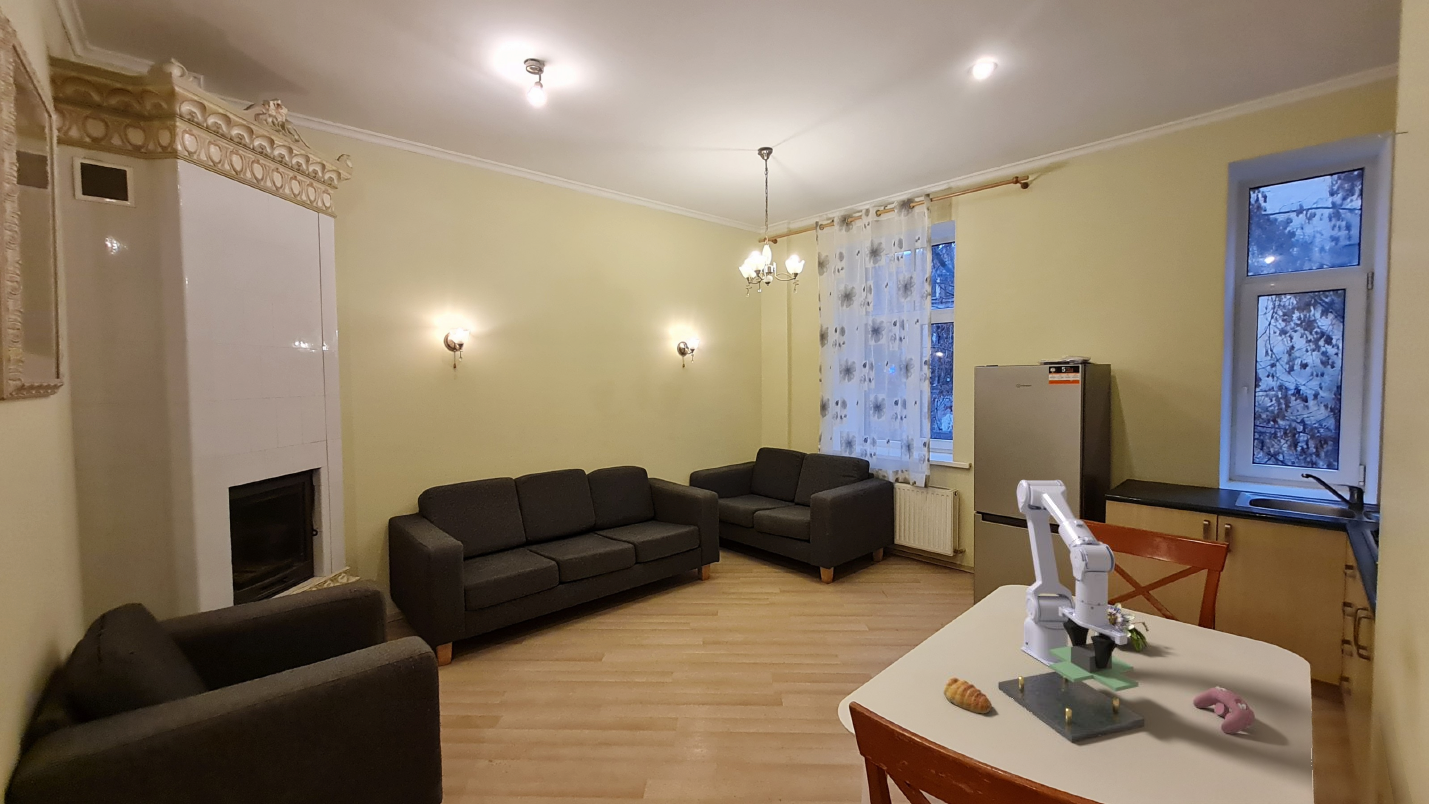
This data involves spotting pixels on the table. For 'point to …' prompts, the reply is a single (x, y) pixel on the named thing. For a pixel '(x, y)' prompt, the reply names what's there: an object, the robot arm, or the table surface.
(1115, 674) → the board
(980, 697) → the pastry
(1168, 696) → the table surface
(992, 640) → the table surface
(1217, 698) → the video game controller
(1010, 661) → the table surface
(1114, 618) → the passion flower
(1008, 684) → the chassis
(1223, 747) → the table surface
